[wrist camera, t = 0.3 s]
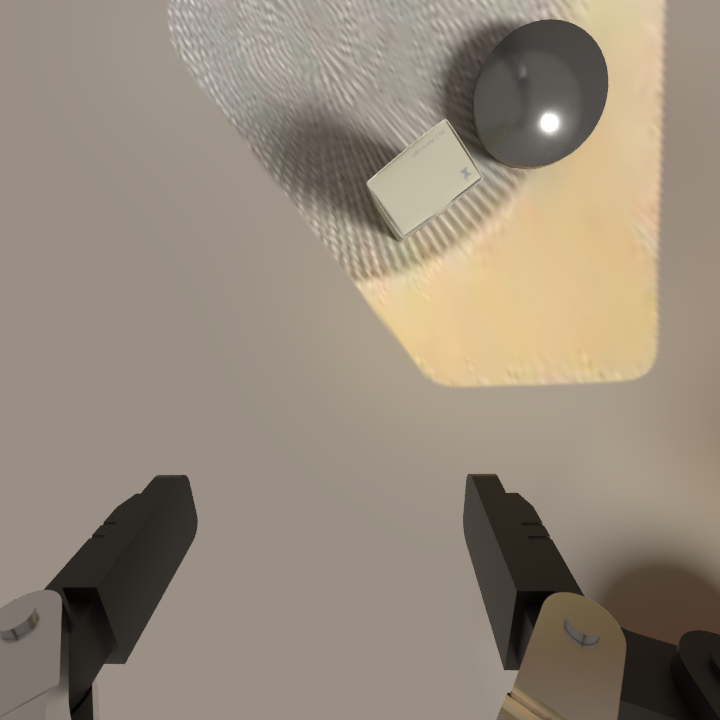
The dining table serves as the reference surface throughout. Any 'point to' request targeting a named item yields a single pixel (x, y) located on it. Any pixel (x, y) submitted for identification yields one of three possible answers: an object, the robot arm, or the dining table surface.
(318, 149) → the dining table surface
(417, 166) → the skincare box
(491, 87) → the dark gray bowl
